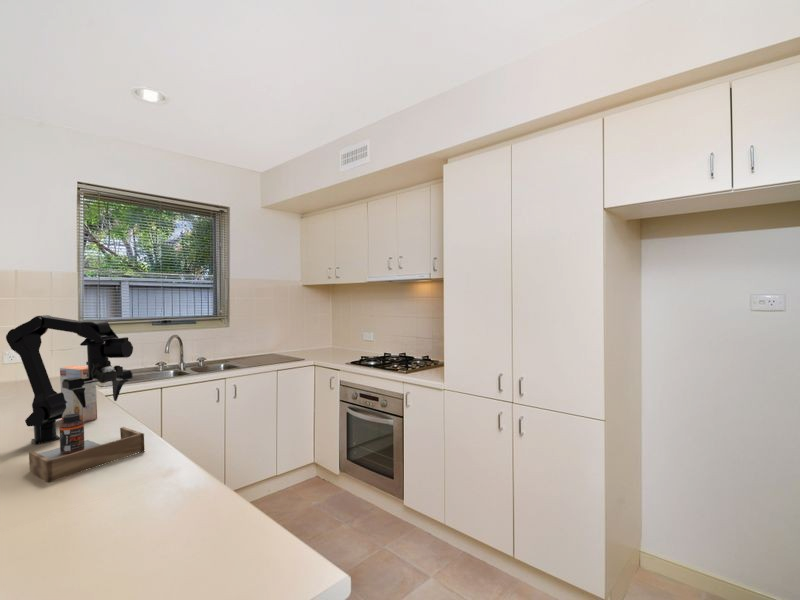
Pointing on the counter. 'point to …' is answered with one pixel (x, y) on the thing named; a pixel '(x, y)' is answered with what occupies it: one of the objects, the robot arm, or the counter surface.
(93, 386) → the cracker box
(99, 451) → the open wooden enclosure
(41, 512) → the counter surface
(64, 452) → the supplement bottle
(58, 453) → the mat
